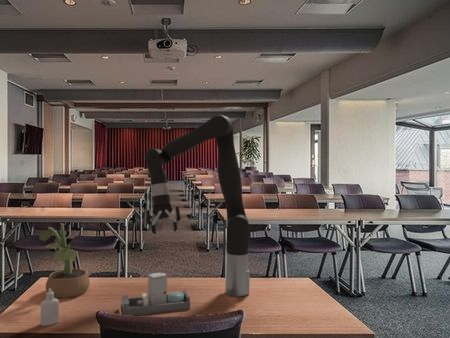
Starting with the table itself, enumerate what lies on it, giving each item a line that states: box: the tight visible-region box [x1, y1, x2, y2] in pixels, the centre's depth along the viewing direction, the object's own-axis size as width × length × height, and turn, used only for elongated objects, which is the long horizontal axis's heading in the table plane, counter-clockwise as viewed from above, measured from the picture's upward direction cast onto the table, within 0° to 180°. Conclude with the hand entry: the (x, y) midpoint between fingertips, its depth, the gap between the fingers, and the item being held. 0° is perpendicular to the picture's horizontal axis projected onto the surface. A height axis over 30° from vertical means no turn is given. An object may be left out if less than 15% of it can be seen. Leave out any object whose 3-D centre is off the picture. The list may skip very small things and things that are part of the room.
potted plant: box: [38, 223, 91, 299], centre depth 156 cm, size 22×18×30 cm
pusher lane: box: [121, 289, 191, 316], centre depth 144 cm, size 24×10×5 cm, turn 108°
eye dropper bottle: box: [40, 288, 60, 327], centre depth 130 cm, size 4×6×12 cm
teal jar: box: [167, 291, 184, 303], centre depth 146 cm, size 6×6×4 cm
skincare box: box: [147, 272, 168, 305], centre depth 144 cm, size 6×4×12 cm
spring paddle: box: [137, 293, 148, 306], centre depth 142 cm, size 3×7×4 cm, turn 18°
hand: (165, 232), depth 163 cm, fingers open, 8 cm apart
